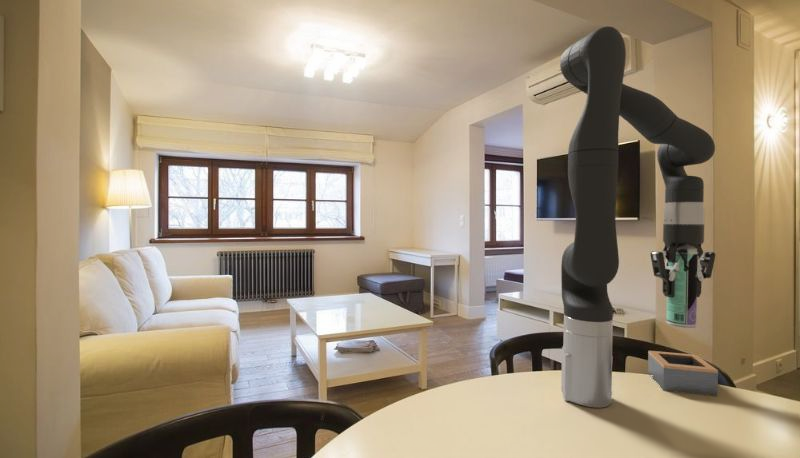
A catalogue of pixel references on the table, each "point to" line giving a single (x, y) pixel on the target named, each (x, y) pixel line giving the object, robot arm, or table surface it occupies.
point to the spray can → (684, 289)
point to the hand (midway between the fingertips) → (681, 296)
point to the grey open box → (683, 373)
